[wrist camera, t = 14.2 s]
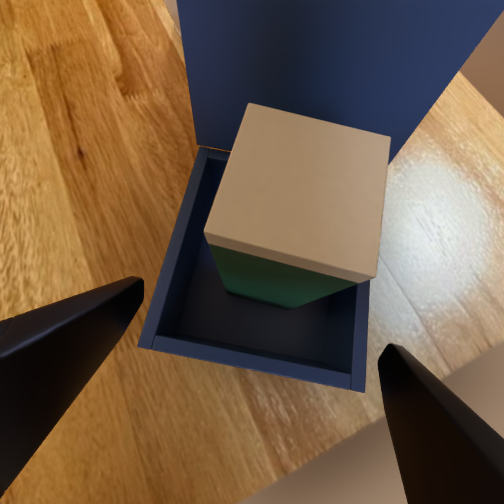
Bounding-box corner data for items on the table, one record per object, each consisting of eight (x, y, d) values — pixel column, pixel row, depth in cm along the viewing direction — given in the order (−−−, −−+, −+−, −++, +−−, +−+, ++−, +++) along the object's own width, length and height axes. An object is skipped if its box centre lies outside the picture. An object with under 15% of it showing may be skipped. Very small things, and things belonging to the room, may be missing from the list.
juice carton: (288, 310, 19) (376, 277, 7) (226, 294, 19) (202, 231, 7) (300, 251, 21) (391, 136, 8) (243, 236, 21) (248, 101, 8)
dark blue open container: (328, 374, 19) (365, 393, 13) (167, 341, 19) (136, 347, 13) (341, 215, 23) (374, 178, 17) (209, 189, 23) (199, 145, 17)
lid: (844, -446, 4) (675, -366, 6) (94, -560, 4) (176, -443, 6) (378, 179, 17) (374, 137, 19) (196, 144, 17) (212, 106, 19)
